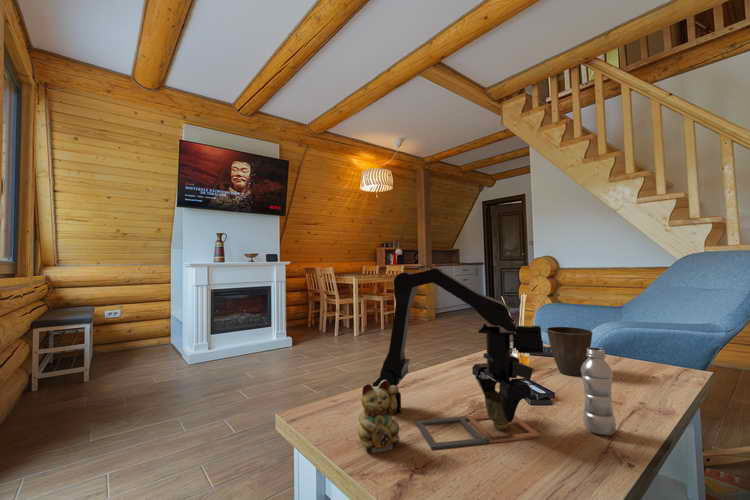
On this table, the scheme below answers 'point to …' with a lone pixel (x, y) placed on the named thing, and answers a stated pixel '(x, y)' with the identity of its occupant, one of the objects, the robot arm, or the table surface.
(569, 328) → the plant pot
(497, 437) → the rectangular frame
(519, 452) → the table surface
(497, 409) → the dark ridged bell shape
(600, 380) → the plastic bottle
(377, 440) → the decorative figurine
